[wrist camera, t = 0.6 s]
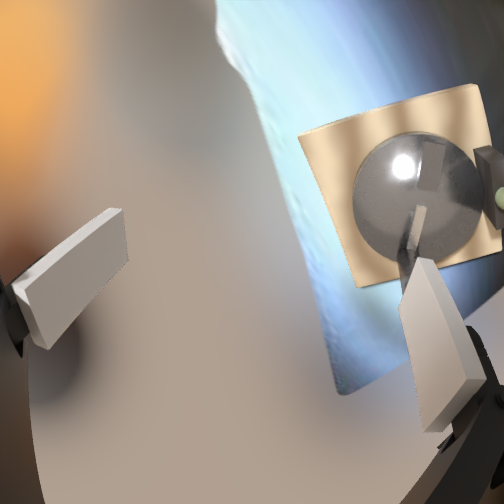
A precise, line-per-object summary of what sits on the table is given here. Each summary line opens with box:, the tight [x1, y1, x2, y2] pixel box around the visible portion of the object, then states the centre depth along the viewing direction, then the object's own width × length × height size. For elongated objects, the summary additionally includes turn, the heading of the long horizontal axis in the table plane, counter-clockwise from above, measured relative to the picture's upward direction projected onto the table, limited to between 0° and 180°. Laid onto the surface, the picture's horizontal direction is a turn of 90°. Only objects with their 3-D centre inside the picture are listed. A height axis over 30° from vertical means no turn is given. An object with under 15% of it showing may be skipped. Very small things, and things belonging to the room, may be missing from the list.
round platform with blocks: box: [352, 131, 484, 295], centre depth 29 cm, size 16×16×12 cm
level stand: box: [298, 84, 504, 288], centre depth 32 cm, size 22×22×9 cm
